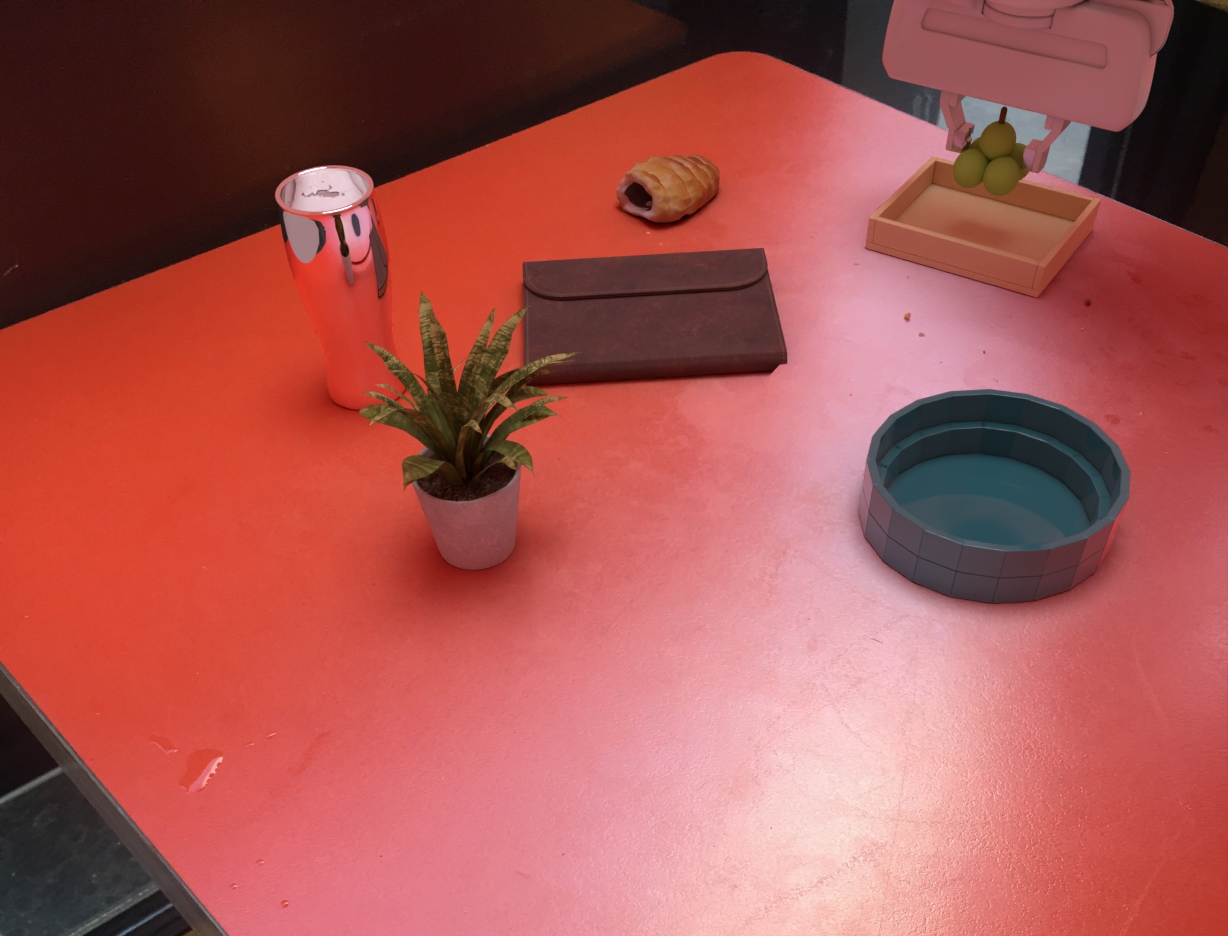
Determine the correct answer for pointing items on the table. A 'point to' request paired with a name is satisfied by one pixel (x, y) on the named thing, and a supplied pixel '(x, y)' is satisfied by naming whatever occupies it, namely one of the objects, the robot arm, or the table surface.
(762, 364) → the notebook
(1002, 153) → the grapes
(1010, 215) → the tray
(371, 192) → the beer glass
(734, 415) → the table surface
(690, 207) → the pastry
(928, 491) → the bowl
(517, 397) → the house plant
